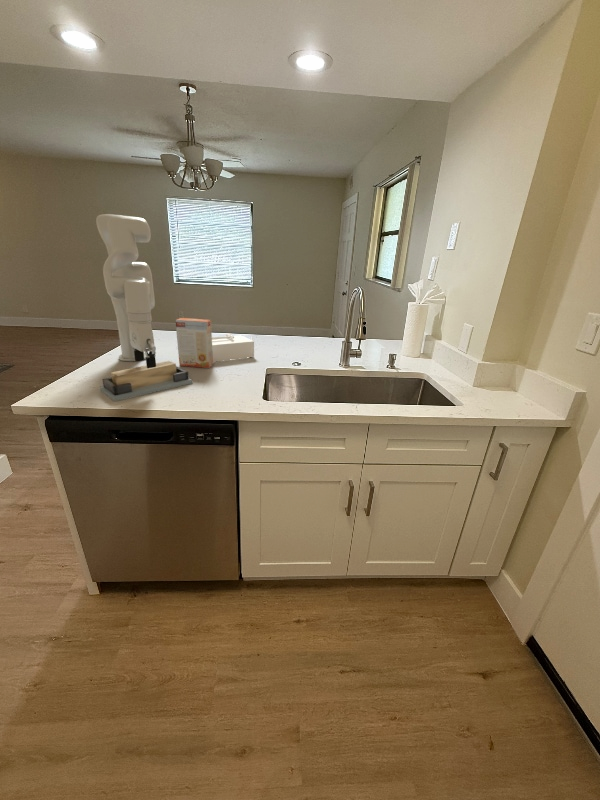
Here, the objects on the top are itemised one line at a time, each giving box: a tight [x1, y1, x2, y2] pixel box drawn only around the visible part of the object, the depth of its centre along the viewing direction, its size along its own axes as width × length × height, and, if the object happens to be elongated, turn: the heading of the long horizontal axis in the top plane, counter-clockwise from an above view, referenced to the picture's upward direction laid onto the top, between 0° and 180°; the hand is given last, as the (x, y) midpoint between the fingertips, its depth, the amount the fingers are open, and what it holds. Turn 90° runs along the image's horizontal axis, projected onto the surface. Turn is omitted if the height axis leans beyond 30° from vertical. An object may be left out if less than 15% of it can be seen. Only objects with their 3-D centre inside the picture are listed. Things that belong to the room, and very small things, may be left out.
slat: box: [110, 360, 177, 389], centre depth 126 cm, size 5×22×6 cm, turn 141°
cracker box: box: [175, 317, 214, 369], centre depth 151 cm, size 14×6×21 cm, turn 84°
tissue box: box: [212, 333, 255, 363], centre depth 169 cm, size 14×25×11 cm, turn 124°
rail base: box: [99, 365, 193, 402], centre depth 127 cm, size 13×29×4 cm, turn 137°
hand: (145, 363), depth 125 cm, fingers open, 9 cm apart
